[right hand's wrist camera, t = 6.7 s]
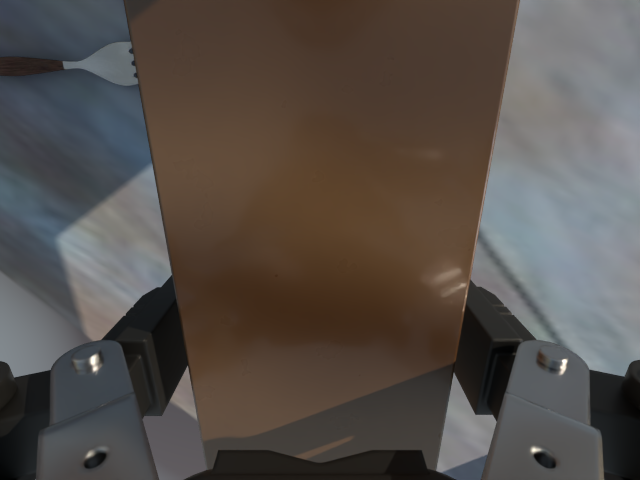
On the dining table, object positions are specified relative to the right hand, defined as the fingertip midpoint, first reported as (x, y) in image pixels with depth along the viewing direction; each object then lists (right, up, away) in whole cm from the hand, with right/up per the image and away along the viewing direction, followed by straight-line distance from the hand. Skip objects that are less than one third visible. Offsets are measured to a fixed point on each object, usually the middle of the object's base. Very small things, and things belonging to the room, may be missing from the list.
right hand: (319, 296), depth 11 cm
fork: (-18, +14, +12) cm, 26 cm away
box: (0, +9, +5) cm, 10 cm away
